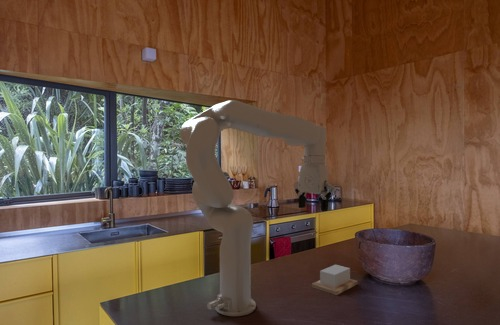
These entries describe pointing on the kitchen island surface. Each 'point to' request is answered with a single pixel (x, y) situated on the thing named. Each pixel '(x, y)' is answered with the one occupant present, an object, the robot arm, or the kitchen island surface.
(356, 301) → the kitchen island surface
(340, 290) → the pin block
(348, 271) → the block
